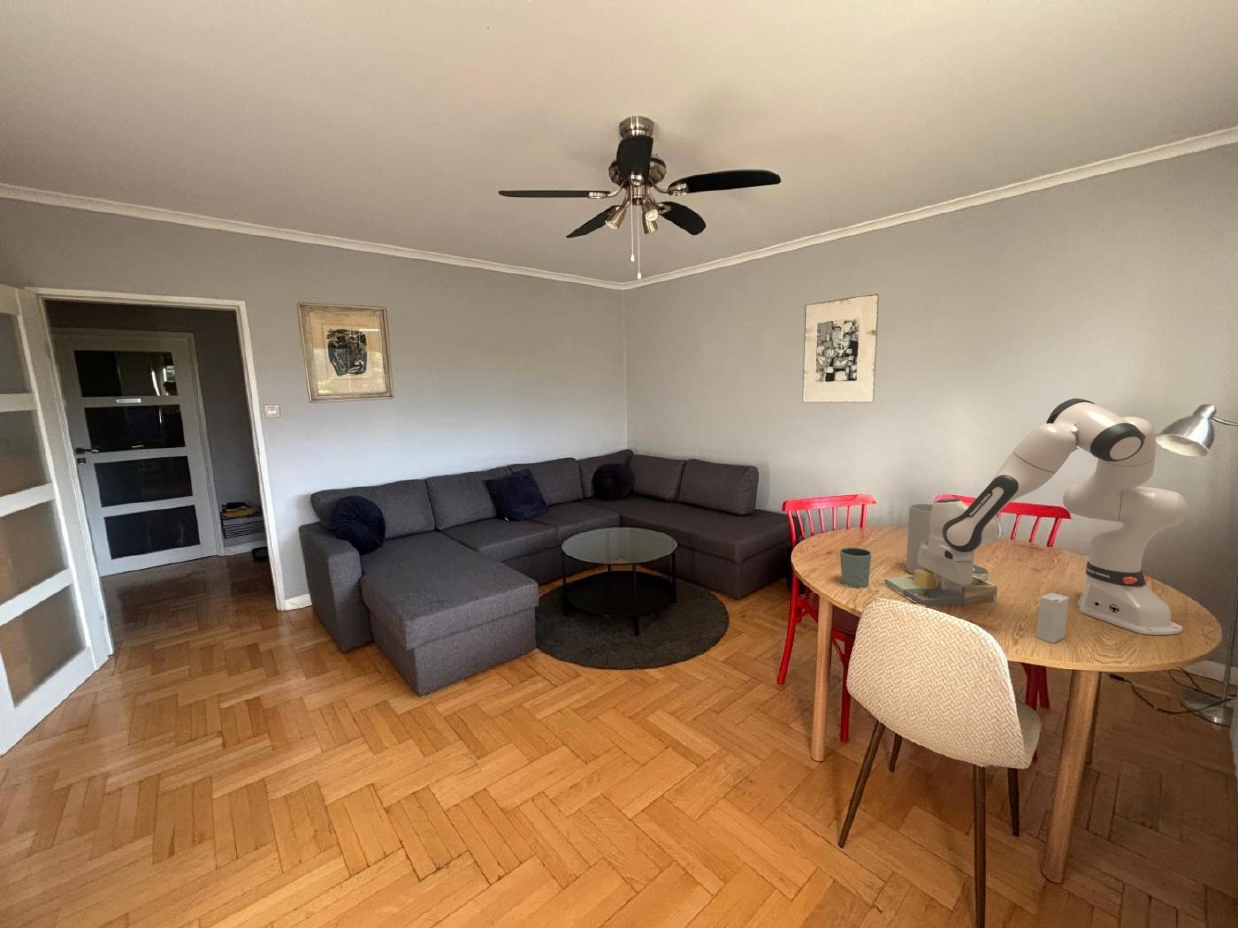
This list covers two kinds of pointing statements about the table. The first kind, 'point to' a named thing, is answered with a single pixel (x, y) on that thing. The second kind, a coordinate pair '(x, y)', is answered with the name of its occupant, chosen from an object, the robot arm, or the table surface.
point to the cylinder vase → (917, 533)
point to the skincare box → (1052, 617)
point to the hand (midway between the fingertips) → (941, 587)
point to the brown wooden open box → (978, 591)
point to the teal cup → (855, 566)
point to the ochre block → (925, 579)
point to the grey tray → (929, 592)
